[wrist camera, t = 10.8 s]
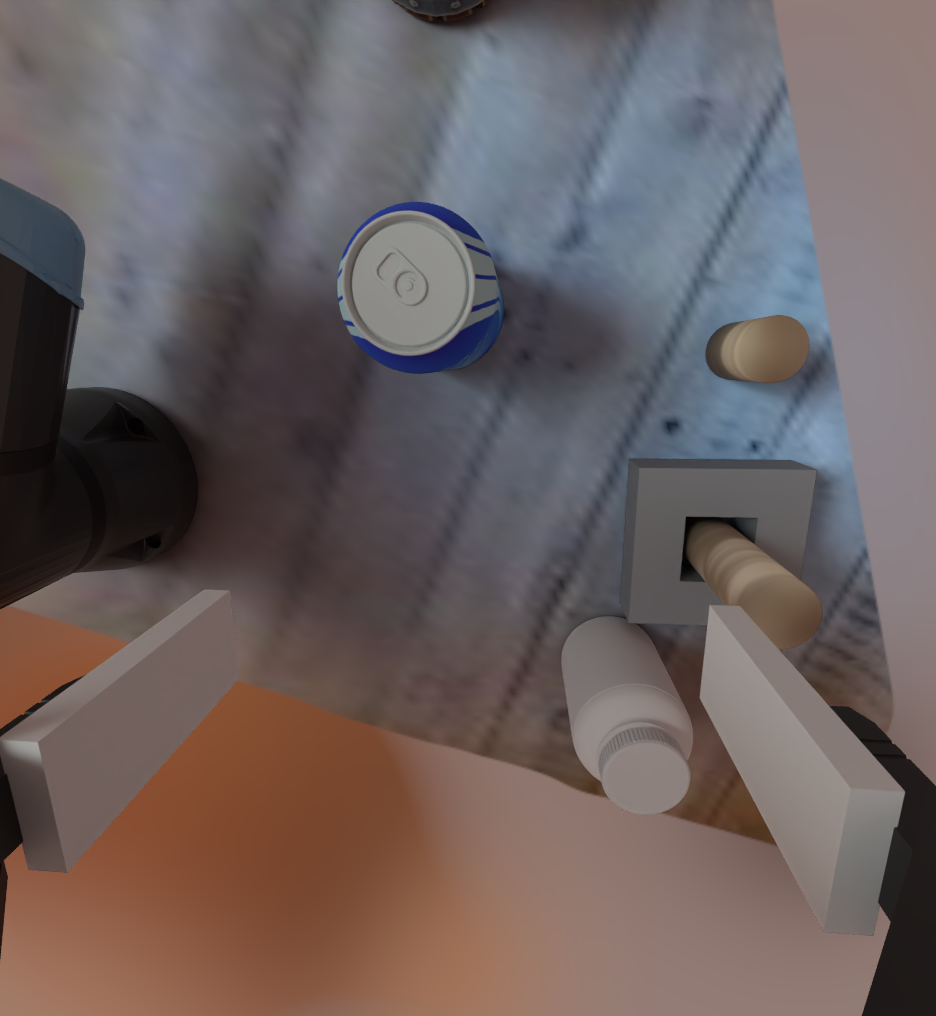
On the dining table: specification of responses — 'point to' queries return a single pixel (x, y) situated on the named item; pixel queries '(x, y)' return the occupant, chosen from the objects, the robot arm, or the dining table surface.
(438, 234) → the beer can
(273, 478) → the dining table surface
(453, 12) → the mug
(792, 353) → the short dowel
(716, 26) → the dining table surface
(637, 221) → the dining table surface
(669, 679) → the pill bottle
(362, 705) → the dining table surface
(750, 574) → the tall dowel
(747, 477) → the socket block
